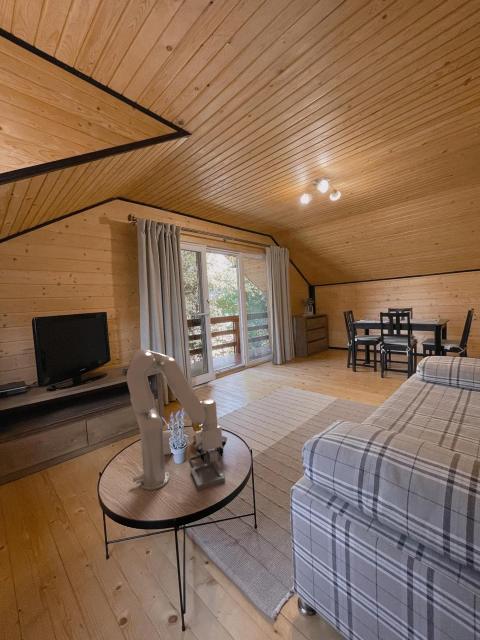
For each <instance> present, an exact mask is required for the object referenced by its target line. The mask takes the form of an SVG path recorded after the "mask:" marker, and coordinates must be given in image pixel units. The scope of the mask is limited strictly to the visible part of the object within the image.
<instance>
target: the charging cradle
mask: <svg viewBox="0 0 480 640" xmlns="http://www.w3.org/2000/svg"><path fill="white" fill-rule="evenodd" d="M190 475H192V476H191V477H192V479H193V481H194V483H195V485H196V488H197V489H198V491H202V490H205V489H207V488H210V487H214V486H216V485H219V484H223V483H225V482H226V479H225V476H224V474H223V473H222V471H221V469H220V468H219V466H218V464H216V463H215V461H214V462H211V463H209V462H208V463H204V464H201V465H198V466H194V468H192V467H191V468H190Z"/></svg>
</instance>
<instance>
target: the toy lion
mask: <svg viewBox="0 0 480 640" xmlns="http://www.w3.org/2000/svg"><path fill="white" fill-rule="evenodd" d="M190 421H191V420H190ZM201 424H202V423H200V424H195V423H193V422H192V421H191V428H192V429H193V431H194V432H195V435H193V436H192V440H193V442H194V443H196V432H197V431H201V429H202V428H200V426H199V425H201Z"/></svg>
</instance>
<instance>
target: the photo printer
mask: <svg viewBox="0 0 480 640" xmlns="http://www.w3.org/2000/svg"><path fill="white" fill-rule="evenodd" d="M170 431H171V430H163V446H164V456H165V455H172V454H171V449H170V445H169V438H170V436H171V433H170Z"/></svg>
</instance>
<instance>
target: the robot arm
mask: <svg viewBox="0 0 480 640" xmlns="http://www.w3.org/2000/svg"><path fill="white" fill-rule="evenodd" d="M150 370H151V371H156V372H160V373H161V374H162V376H163V379H164V380H165V382H166V384H167V385H168V387H169V389H170V390H171V393H172V394H173V395H174V397H175V398H176V399H177V400H178V402H179V403H180V404H181V405H182V407H183V408H184V410H183V411H184V414H185V416H187V418H188V419H189V420H190V421H192V422H193V423H195V424H200V423H202V424H201V425H199V426H200V428H202V429H201V441H200V442H198V443H195V444H194V445H193V447H194V450H196V453H197V452H198V453H200V457H199V458H200V461H202V462H203V463H205V456H204V454H205V453H204V451H207V450H211V449H214V448H218V447H219V452H218V455H219V456H220V457H223V456H224V455H223V454H224V448H225V446H226V444H227V441H228V437H226V436H224V435H222V436H221V432H220V428H219V426H220V425H218V417H217V416H218V415H217V402H216V401H215V400H214V399H205V400H202V401H201V400H200V399H199V397H198V395H197V394H196V393H195V391H194V389H193V388H192V386H191V384H190V383H189V381H188V379H187V378H186V376H185V374H184V372H183V370H182V368H181V367H180V364H179V363H178V361H177V360H176V359H175V358H174V357H171V356H169V355H166V354H162V353H159V352H156V351H155V352H154V351H152V350H148V349H143V348H142V349H138V350H136V351H135V352H134V354H133V355H132V362H131V364H130V365H129V367H128V369H127V372H126V383H127V386H128V390H129V393H130V402H131V406H132V408H133V412H134V415H135V417H136V418H135V419H136V421H137V423H138V427H139V432H140V449H141V458H142V470H143V471H142V474H140V475H137V476H133V477H132V482H133V483H135V482H136V483H135V484H140V487H142V489H143V490H148V491H155V490H157V489H160V488H162V487H164V486H165V485H166V484H167V483H168V482H169V480H170V473H169V471H166V462H165V455H164V446H163V431H164V425H163V423H164V422H163V421H162V418H161V416H160V414H159V413H158V410H157V408H156V406H155V398H154V394H153V392H152V390H151V386H150V385H151V384H150V383H149V378H148V374H149V372H150ZM192 422H191V423H192ZM222 439H223V442H222ZM200 445H201V448H200V449H198V447H199V446H200Z"/></svg>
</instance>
